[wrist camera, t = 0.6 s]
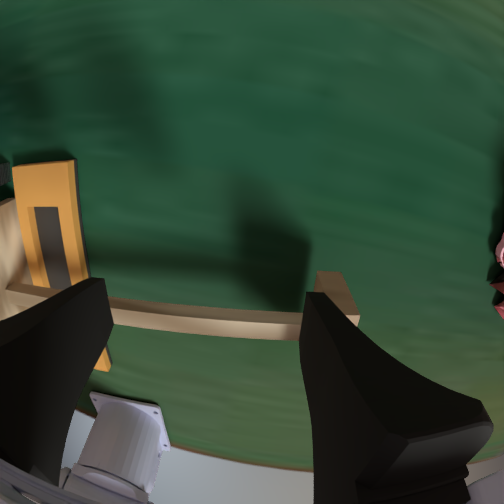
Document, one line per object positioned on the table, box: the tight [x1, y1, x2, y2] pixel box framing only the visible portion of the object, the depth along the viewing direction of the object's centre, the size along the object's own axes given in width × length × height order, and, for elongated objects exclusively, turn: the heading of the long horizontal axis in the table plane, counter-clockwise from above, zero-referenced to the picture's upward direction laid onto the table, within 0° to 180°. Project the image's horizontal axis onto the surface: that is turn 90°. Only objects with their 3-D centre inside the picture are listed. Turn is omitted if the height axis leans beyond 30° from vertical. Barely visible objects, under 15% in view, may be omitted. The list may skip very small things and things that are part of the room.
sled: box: [0, 198, 360, 341], centre depth 18 cm, size 13×25×6 cm, turn 87°
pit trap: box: [12, 159, 112, 372], centre depth 21 cm, size 18×6×1 cm, turn 177°
